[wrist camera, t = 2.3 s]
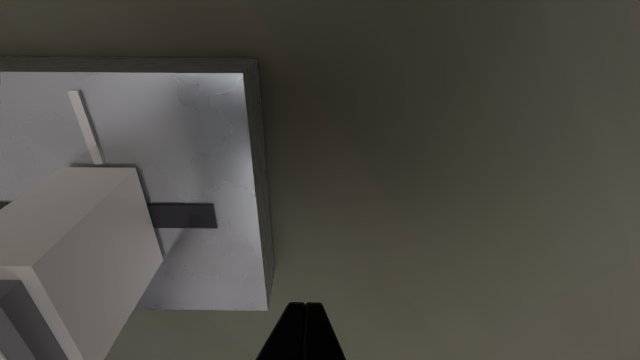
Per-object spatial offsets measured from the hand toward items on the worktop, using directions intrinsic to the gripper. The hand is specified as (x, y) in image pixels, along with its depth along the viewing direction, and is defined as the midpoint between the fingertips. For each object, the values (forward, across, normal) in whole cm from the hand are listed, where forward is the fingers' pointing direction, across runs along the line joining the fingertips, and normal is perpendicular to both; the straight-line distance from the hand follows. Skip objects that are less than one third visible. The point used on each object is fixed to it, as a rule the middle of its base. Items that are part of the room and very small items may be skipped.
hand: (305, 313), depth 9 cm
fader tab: (+4, +7, 0) cm, 8 cm away
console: (+7, +11, 0) cm, 13 cm away
